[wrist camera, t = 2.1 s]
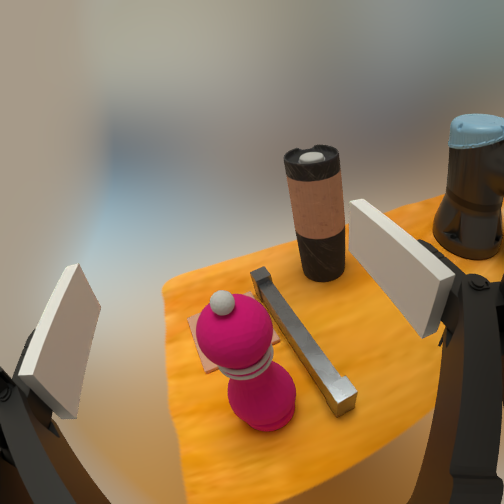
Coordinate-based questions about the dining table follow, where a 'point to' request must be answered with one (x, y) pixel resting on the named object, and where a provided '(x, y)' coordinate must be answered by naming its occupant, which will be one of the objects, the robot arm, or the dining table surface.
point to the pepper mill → (247, 359)
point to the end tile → (206, 362)
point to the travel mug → (317, 210)
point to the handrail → (305, 346)
